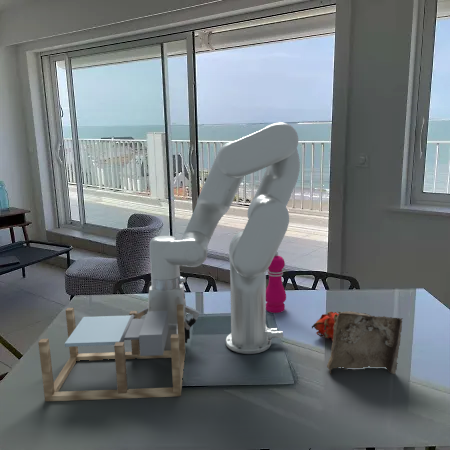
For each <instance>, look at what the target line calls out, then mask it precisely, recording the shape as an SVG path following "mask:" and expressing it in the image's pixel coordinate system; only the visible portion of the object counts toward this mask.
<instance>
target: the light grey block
mask: <svg viewBox="0 0 450 450" xmlns="http://www.w3.org/2000/svg"><path fill="white" fill-rule="evenodd" d="M168 328H169V330H168V334H167V339H166V343H165V348H164V351H167V350H171V334H178V325H177V324H168Z"/></svg>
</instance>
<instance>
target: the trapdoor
mask: <svg viewBox="0 0 450 450" xmlns="http://www.w3.org/2000/svg"><path fill="white" fill-rule="evenodd" d="M134 317H135V316H134V315H133V314H132V315H129V314H128V315H127V314H126V315H107V316H106V315H102V316H101V315H100V316H99V315H98V316H83V317H82V318H81V320H80V321H79V322H78V324H77V325H76V328H75V330H74V331H73V332H72V334H71V335H70V337H69V338H68V337H67V339H66V341H65V342H64V348H65V347H68V348H69V347H73V346H78V347H97V346H99V347H101V346H114V345H115V343H116V342H124V343H125V341H131V340H139V343H140V356H154V355H163V353H164V348H165V343H166V339H167V334H168V330H169V328H168V311H149V312H147V314H145V317H144V318H143V319H134Z"/></svg>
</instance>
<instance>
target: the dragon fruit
mask: <svg viewBox="0 0 450 450" xmlns="http://www.w3.org/2000/svg"><path fill="white" fill-rule="evenodd" d="M341 312H342V311H334V312H333V311H328V312H327V313H323V314H322V315H321V316H320V318H319V319H317V321H316V322H314V324H313V325H311V329H315V330H316V333H315V334H316V335H318V337H320V338H325V339H331V342H332V343H333V333H334V326H335V323H336V318H337V316H338V315H339V314H340V313H341Z"/></svg>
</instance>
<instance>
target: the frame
mask: <svg viewBox="0 0 450 450" xmlns="http://www.w3.org/2000/svg"><path fill="white" fill-rule="evenodd" d="M138 312H139V311H138V310H130V311H129V314H128V315H132V314H133V315H134V316H135V317H134V319H138ZM65 316H66V317H65V319H66V328H67V339H68V338H69V337H70V335H71V334H72V332H73V331H74V330H75V328H76V327H77V325H76V316H75V308H74V307H67V308H66V309H65ZM177 325H178V334H171V350H167V351H164V353H163V355H154V356H140V341H139V340H130V345H131V351H126V350H125V349H126V348H125V341H124V342H116V343H115V345H113V347H114V350H113V351H114V352H110V351H109V352H90V353H89V352H87V353H85V352H84V353H83V352H82V353H81V352H80V353H79V346H73V347H68V350H69V358H68V360H67V361H66V362H65V365H64V366H63V367H62V369H61V370H60V371H59V374H58V375H57V376H56V377H55V379H54V374H53V365H52V355H51V346H50V339H49V338H41V339H39V341H38V350H39V352H38V353H39V359H40V368H41V378H42V385H43V392H44V393H43V394H44V401H45V402H62V401H63V402H67V401H69V402H70V401H89V400H112V399H113V400H117V399H118V400H119V399H138V398H139V399H140V398H141V399H143V398H145V399H147V398H165V397H166V398H169V397H172V398H174V397H181V396H182V390H183V389H182V387H183V380H182V378H183V379H184V371H183V369H184V370H185V362H184V361H186V360H185V359H186V343H185V331H184V307H183V304H177ZM135 358H137V359H135ZM167 358H169V359H170V358H171V374H172V378H171V379H172V386H171V387H149V388H147V387H146V388H128V376H127V364H126V363H127V361H126V360H138V359H167ZM103 359H108V360H107V361H110V360H109V359H115V360H114V362H115V375H116V386H117V387H116V388H117V389H100V390H99V389H98V390H97V389H96V390H73V391H71V390H69V391H60V390H61V388H62V387H63V384H64V382H66V380H67V378H68V376H69V375H70V373H71V372H72V370H73V368H74V366H75V365H76V363H77V362H81V361H80V360H89V361H104V360H103ZM76 361H77V362H76Z"/></svg>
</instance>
